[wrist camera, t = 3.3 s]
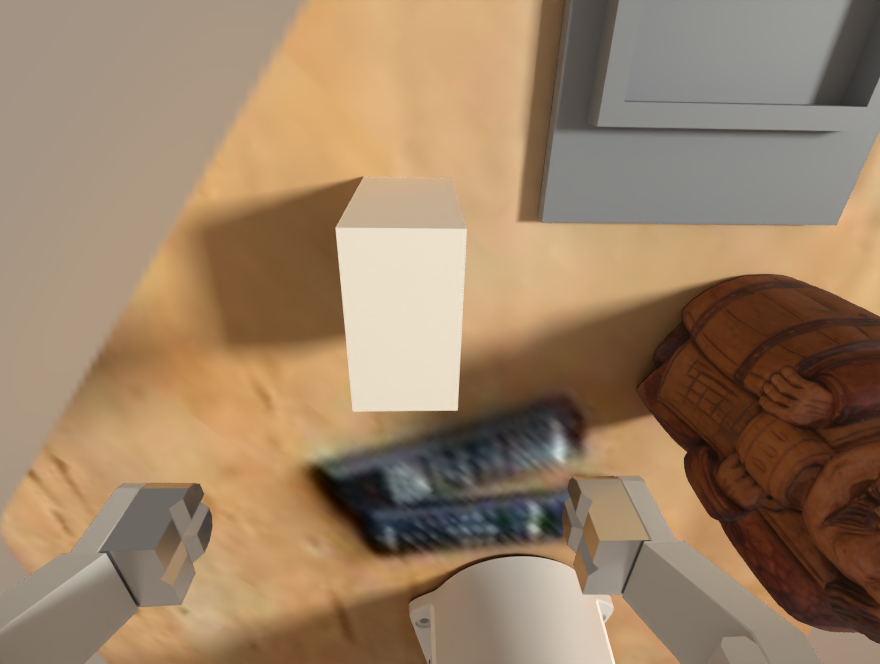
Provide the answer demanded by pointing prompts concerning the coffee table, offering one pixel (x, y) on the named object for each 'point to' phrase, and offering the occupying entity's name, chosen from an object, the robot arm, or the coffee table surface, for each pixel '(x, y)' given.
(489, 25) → the coffee table surface
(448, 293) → the product carton
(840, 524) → the wooden figurine
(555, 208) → the display base
